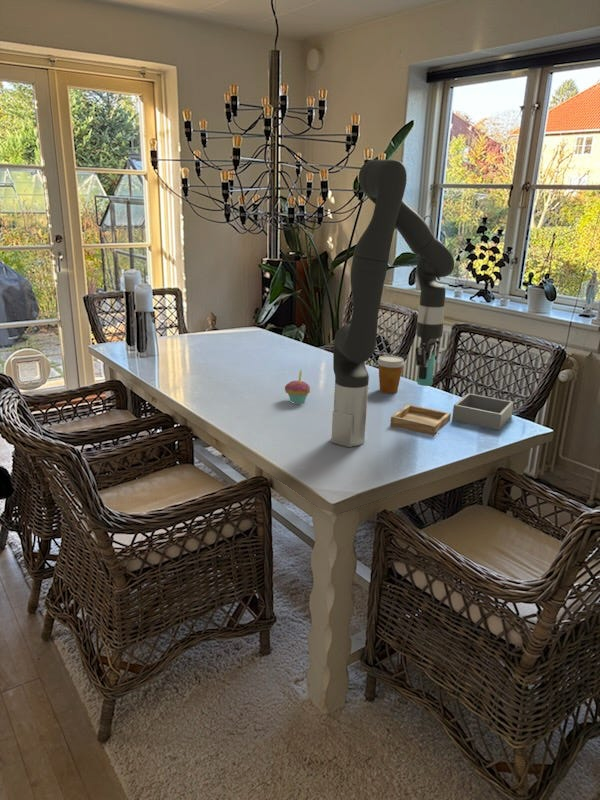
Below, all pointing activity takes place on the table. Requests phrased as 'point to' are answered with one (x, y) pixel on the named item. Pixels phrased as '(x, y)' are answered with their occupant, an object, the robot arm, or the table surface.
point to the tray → (420, 419)
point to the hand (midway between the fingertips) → (425, 376)
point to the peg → (428, 373)
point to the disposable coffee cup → (390, 373)
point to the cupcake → (297, 390)
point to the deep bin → (483, 411)
